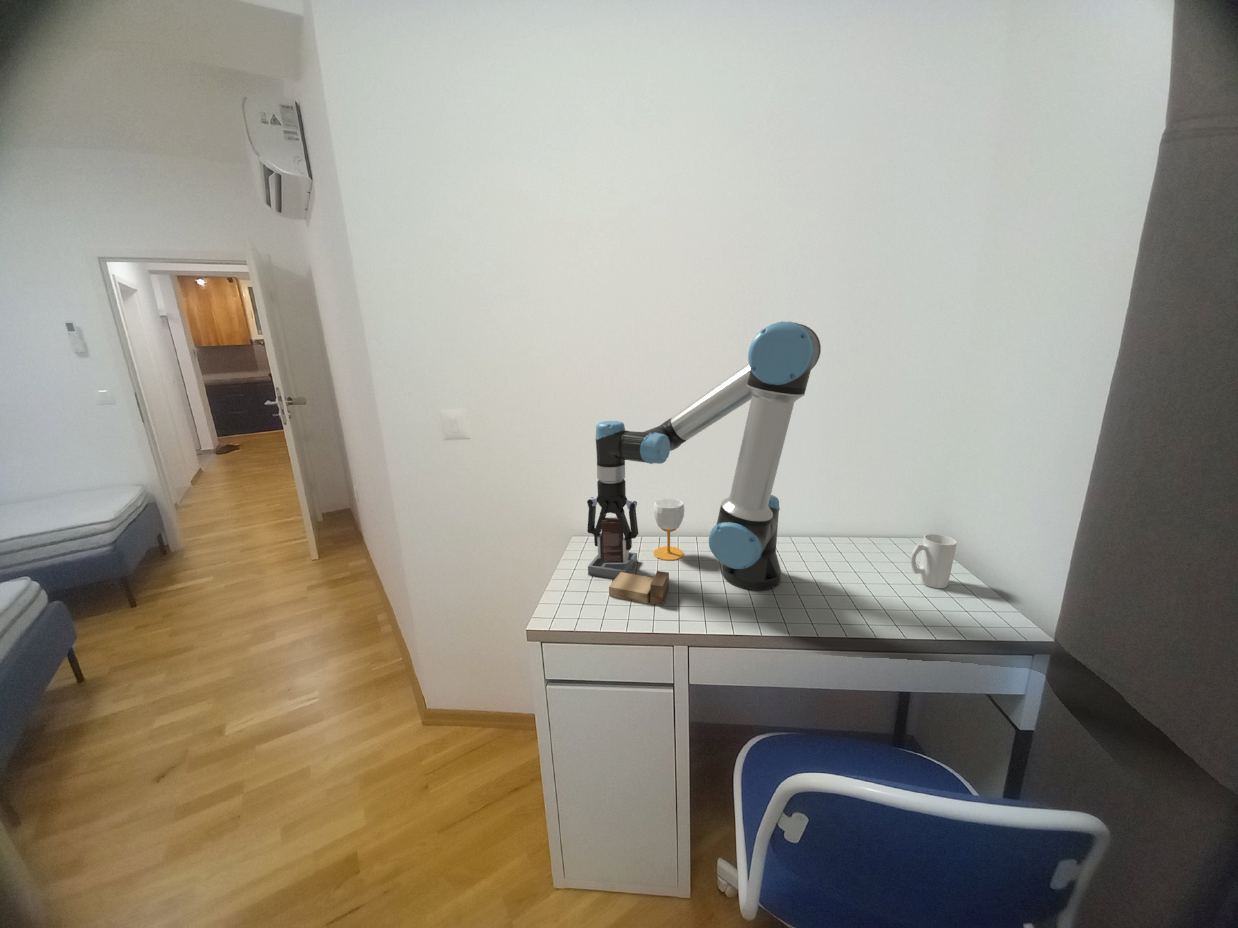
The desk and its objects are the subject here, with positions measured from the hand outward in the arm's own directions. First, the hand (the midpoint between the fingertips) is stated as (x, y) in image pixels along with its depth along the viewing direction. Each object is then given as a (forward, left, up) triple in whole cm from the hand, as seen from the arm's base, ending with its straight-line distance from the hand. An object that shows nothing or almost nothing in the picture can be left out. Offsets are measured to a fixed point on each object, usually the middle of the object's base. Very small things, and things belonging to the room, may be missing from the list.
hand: (613, 558), depth 125 cm
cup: (-13, -13, -3) cm, 19 cm away
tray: (0, 0, -3) cm, 3 cm away
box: (0, 0, -1) cm, 1 cm away
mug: (-80, -15, -3) cm, 81 cm away
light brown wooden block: (-9, +11, -3) cm, 14 cm away
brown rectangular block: (-16, +11, -3) cm, 20 cm away
